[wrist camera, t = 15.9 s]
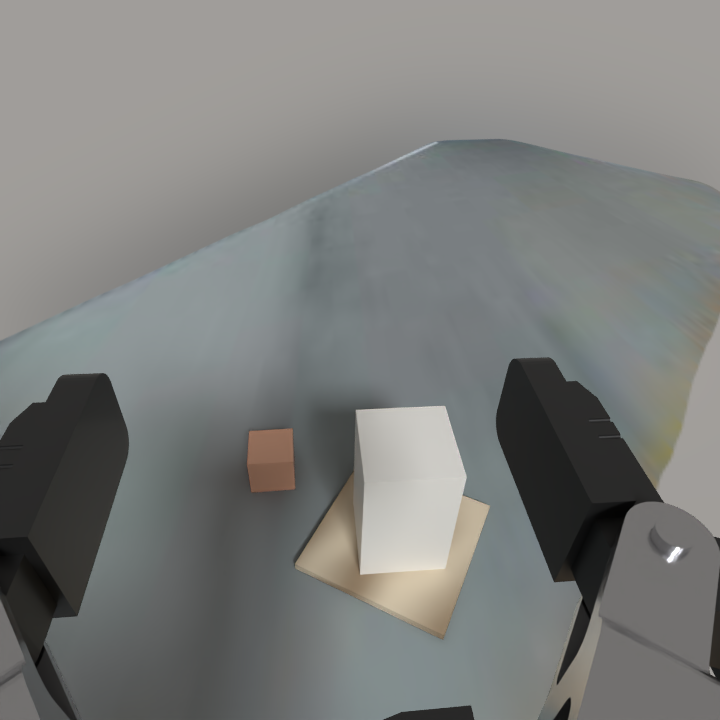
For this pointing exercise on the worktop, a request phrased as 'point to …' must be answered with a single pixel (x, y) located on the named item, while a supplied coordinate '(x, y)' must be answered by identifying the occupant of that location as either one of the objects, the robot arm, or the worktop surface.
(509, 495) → the worktop surface
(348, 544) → the cork mat
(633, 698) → the robot arm
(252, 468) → the block
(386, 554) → the white rectangular block
